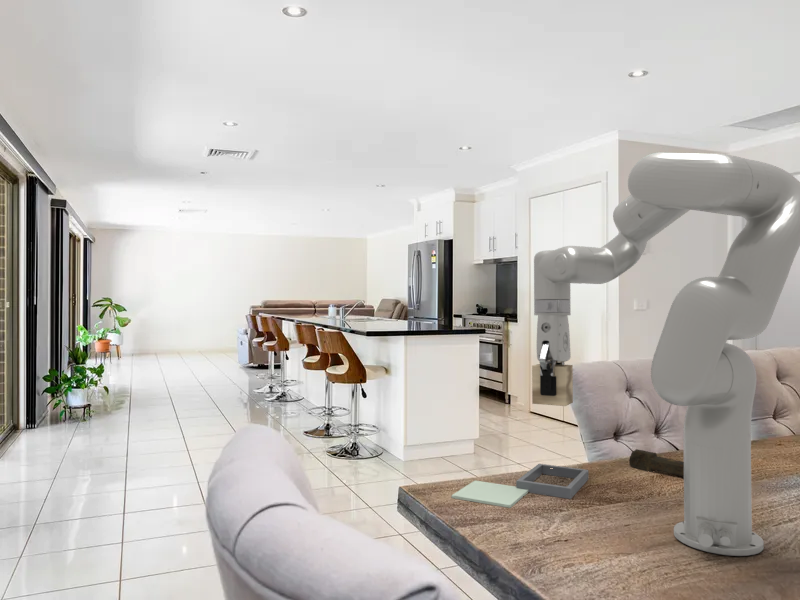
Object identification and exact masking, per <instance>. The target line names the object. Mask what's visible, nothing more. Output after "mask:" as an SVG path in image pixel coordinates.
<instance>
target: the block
mask: <svg viewBox="0 0 800 600" xmlns="http://www.w3.org/2000/svg"><path fill="white" fill-rule="evenodd" d="M573 367H574V366H573V364H564V365H560V364H556V365H555V375H554V376H556V396H545V395H541V394H540V363H539V364H534V365H531V382H532V383H531V386H532V387H531V388H532V389H531V390H532V391H531V394H532V401H531V402H532V405H545V406H547V405H548V406H561V407H567V406H569V405H571V404H573V402H574V395H573V394H574V386H573V385H574V380H573V377H574V376H573V375H574V371H573V370H574V368H573ZM550 368H551V365H550Z"/></svg>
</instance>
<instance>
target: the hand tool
mask: <svg viewBox="0 0 800 600" xmlns="http://www.w3.org/2000/svg"><path fill="white" fill-rule="evenodd" d="M628 460H629V466H630V467H632V468H634V469H637V470H639V471H643V472H648V471H649V473H653V471H655V472H659V473H665V474H669V475H674V476H679V477H682V478H684V461H682V460H677V459H672V458H667V457H663V456H658V455H657V453H656V452H653V451H646V450H643V449H637V448H636V449H635V450H633V451H632V452H631V454H630V456H629V459H628Z"/></svg>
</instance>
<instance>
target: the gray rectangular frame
mask: <svg viewBox="0 0 800 600" xmlns="http://www.w3.org/2000/svg"><path fill="white" fill-rule="evenodd" d="M550 468H553V469H550ZM542 473H543V474H542ZM541 474H542V475H545V474H546V476H554V477H561V478H569V479H573V480H571V481H570V482H569V484H567V486H564V485H563V486H562V485H558V484H550V483H544V482H536V478H537V477H538V478H539V477H540V476H542V475H541ZM538 478H537V479H538ZM588 480H589V470H588V469H584V468H576V467H575V468H574V467H569V466H568V467H566V466H561V465H552V464H546V463H537V464H536V465H535V466H534V467H532V468H531V469H530V470H529V471H527V472H526V473H525V474H523V475H522V476H520V477H519V478H518V479H517V480H515V483H516V485H515V487H516V488H519V489H525V490H528V492H530V493H529V494H536V495H541V496H548V497H555V498H562V499H569V500H571V499H572V498H573V497H575V495H576V494H577V493H578V492H579V490H580V489H581V488H582V487H583V486H584V485H585V484H586V483H587V481H588Z"/></svg>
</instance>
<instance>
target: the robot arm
mask: <svg viewBox="0 0 800 600" xmlns="http://www.w3.org/2000/svg"><path fill="white" fill-rule="evenodd" d="M627 187H628V191H629V193H630V195H629V196H627V197H626V198H625V199H624V200H623V201H621V202H620V203H619V204H618V205H616V206H615V208H614V210H613V214H612V219H613V222H614V225H615V227H616V229H617V231H618V232H619V233H617V235H616V236H615V237H614V238H612V239H611V240H610V241H608V242H607V243H606V244H604V245H602V246H601V247H595V246H593V247H592V246H580V245H567V246H566V245H565V246H562V247H559V248H557V249H551V250H542V251H537V252H536V253H535V255H534V258H533V302H534V303H533V308H534V310H533V311H534V312H533V315H534V316H537V324H536V359H537V361H538V362H539V364H540V394H541V395H545V396H556V376H554V375H555V365H556V364H560V365H565V363H566V362H568V361H569V360H570V359H571V358H572V357H571V338H570V323H569V316H571V312H572V311H571V284H587V285H589V284H590V285H591V284H592V285H602V284H606V283H609V282H611V281H613V280H615V279H616V278H618V277H620V276H622V274H624V273H626V272H627V271H628V270H629V269H631V268H632V267H633V266H635V265H636V263H638V261H639V260H640V259H641V257H642V255H644V254H643V253H644V252H645V250H646V248H647V244H648V241H650V240H651V239H653V238H654V237H655V236H657V235H658V234H659V233H661V232H662V231H663V230H665V229H666V228H668V227H669V226H671V224H673V223H674V222H675V221H677V220H678V219H680V218H681V217H683V216H684V215H685V214H686V213H688V212H689V211H690V210H692V211H698V212H705V213H710V214H719V215H725V216H731V217H732V216H733V217H741V218H743V219H745V221H746V224H745V225H744V227H743V228H742V230H741V231H740V232H739V233H738V234H737V235H736V237H735V239H734V240H733V242H732V243H731V246H730V247H729V250H728V253H727V256H726V259H725V261H724V264H723V266H722V269H721V271H720V273H719V274H718V276H705V277H704V276H703V277H700V278H696V279H694V280H691V281H689V282H688V283H687V284H686V285H684V286H683V287H682V288H681V289H680V290H679V292H678V293H677V294H676V296H675V297H674V298H673V301H672V303H671V305H670V308H669V311H668V313H667V316H666V319H665V322H664V326H663V328H662V331H661V334H660V336H659V339H658V343H657V345H656V348H655V352H654V354H653V357H652V360H651V367H650V379H651V383H652V384H651V385H652V386H653V389H654V391H655V392H656V393H657V395H658V396H659V398H661V399H662V400H663V401H665V402H666V403H669V404H671V405H674V406H679V407H686V411H685V415H684V421H683V462H684V477H683V516H684V517H683V520H684V521H680V522H677V523H676V524H674V526H673V535H674V537H675V539H677V540H678V541H679V542H681V543H682V544H685V545H687V546H689V547H691V548H693V549H696V550H699V551H703V552H707V553H710V554H716V555H723V556H735V557H745V556H747V557H748V556H753V555H757V554H759V553H761V552H762V551H763V550H764V545H765V542H764V539H763V538H762V537H761V536H760V535H758V534H757V533H756V532H754V531H753V529H752V527H753V526H752V525H753V522H752V518H753V517H752V516H753V515H752V513H753V512H752V506H753V505H752V414H753V407H754V406H753V405H754V400H755V394H756V388H757V371H756V366H755V364H754V362H753V360H752V358H751V357H750V355H749V354H748V353H746V351H744V350H743V349H742V348H741V347H738V346H737V345H735V344H732V343H728V342H727V341H738V340H747V339H751V338H754V337H757V336H759V335H761V334H762V333H763V332H764V331H765V330H766V329H767V328H768V326H769V324H770V323H771V319H772V318H773V315H774V312H775V309H776V307H777V304H778V302H779V300H780V296H781V294H782V291H783V289H784V287H785V284H786V281H787V279H788V277H789V274H790V271H791V267H792V265H793V263H794V260H795V258H796V255H797V254H798V252H799V248H800V181H799V180H798V179H797V178H796V177H795V176H794V175H792V173H790V172H788V171H787V170H785V169H783V168H780V167H778V166H777V165H773V164H770V163H767V162H763V161H759V160H753V159H749V158H745V157H741V156H736V155H731V154H726V153H710V152H707V153H705V152H704V153H703V152H702V153H701V152H699V153H698V152H696V153H695V152H691V153H690V152H666V151H665V152H662V151H660V152H658V151H657V152H654V153H649V154H648V155H645V156H644V157H641V158H640V159H639V160H638V161H637V162H636V163H635V165H633V167H632V168H631V170H630V172H629V175H628V179H627ZM550 365H551V368H550Z"/></svg>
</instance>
